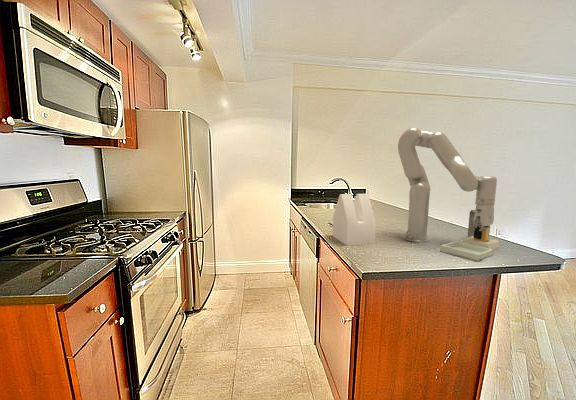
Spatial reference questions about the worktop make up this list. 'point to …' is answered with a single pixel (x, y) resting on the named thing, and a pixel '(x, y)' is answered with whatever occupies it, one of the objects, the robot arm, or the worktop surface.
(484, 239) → the fuse
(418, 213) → the robot arm
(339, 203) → the white notched block
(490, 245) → the beige square stand
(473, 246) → the parts tray
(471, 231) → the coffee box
